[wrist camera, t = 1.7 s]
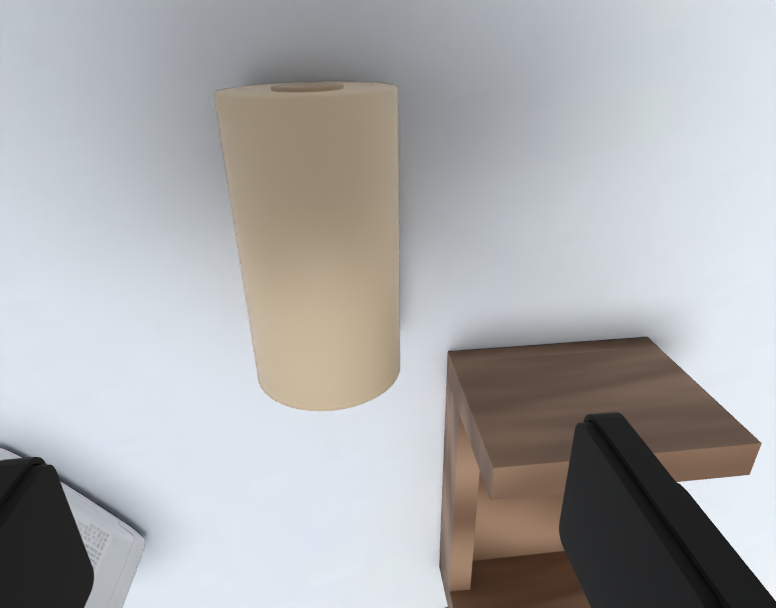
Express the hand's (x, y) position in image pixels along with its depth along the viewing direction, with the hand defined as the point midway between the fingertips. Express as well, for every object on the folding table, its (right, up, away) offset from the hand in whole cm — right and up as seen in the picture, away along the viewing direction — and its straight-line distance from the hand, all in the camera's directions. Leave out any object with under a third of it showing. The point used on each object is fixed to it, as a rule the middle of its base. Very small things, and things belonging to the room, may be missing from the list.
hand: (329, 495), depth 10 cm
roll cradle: (+9, -6, +21) cm, 23 cm away
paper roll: (-2, +7, +13) cm, 15 cm away
